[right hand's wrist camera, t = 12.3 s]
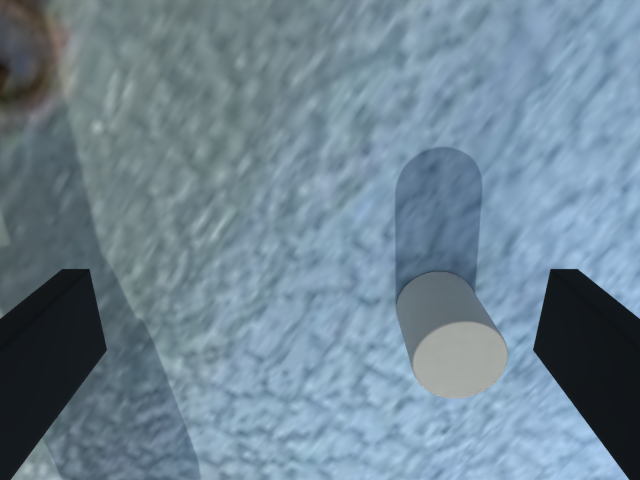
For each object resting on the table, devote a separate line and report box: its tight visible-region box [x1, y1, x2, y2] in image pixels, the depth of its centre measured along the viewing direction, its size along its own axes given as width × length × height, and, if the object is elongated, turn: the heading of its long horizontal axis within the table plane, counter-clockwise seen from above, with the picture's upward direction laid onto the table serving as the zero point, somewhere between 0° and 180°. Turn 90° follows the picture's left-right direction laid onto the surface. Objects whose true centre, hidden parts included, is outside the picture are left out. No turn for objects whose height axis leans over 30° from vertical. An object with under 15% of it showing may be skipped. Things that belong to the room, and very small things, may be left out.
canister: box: [396, 272, 508, 398], centre depth 22 cm, size 4×4×5 cm
